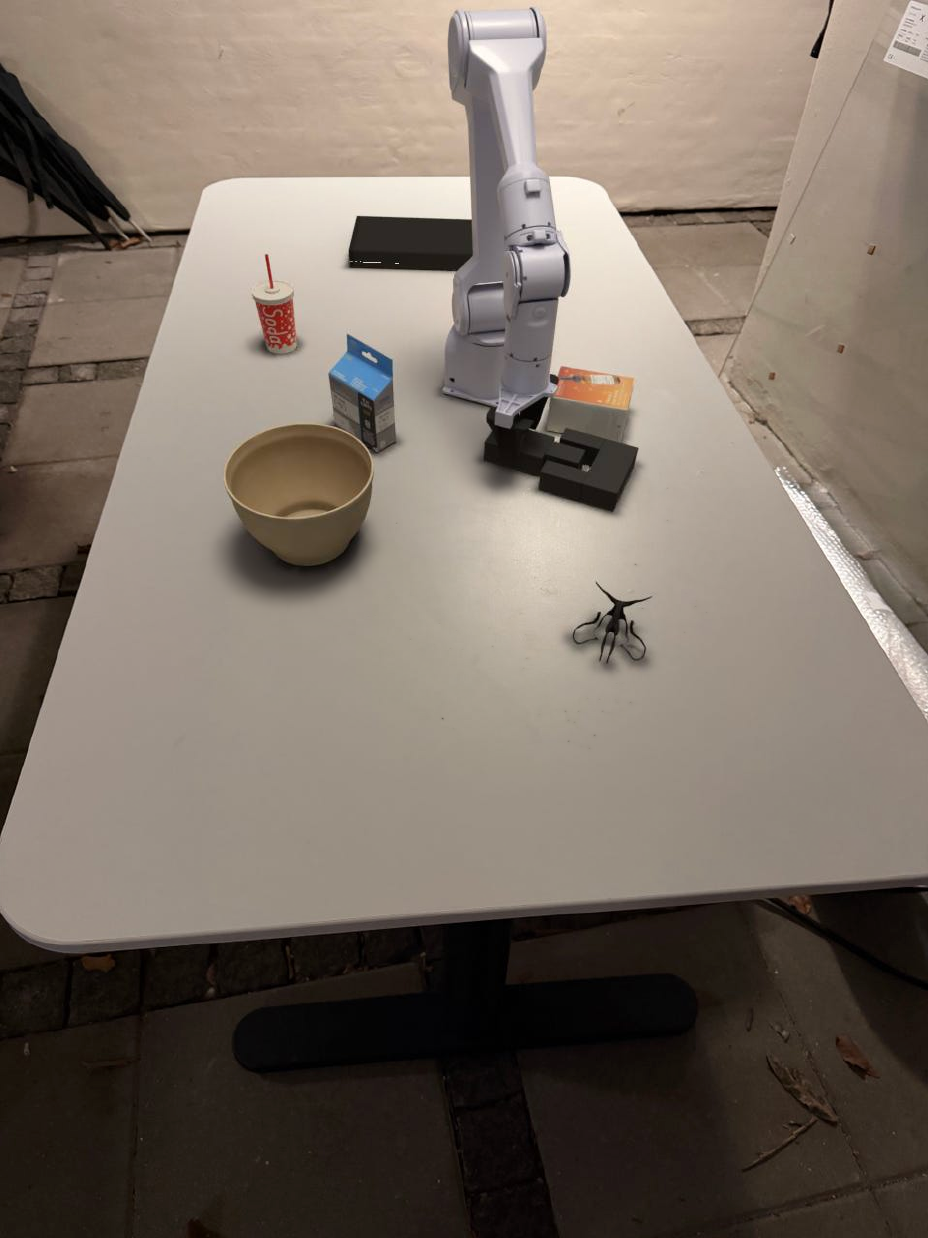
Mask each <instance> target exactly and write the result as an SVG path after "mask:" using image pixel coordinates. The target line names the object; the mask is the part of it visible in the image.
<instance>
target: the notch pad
mask: <svg viewBox="0 0 928 1238" xmlns="http://www.w3.org/2000/svg"><path fill="white" fill-rule="evenodd" d="M558 443H561V444H565V445H569V446H572V447H576V448H579V449H583V450H585V455H584V461H583V465H587V466H590V468H589V470H588V471H587V470H583V469H581V470H580V469H576V468H573V467H569V466H566V465H562V464H559V463H555V462H552V461H548V460H547V461H546V463H545V465H544V466H543V468H542V470H541V472H540V476H539V481H538V490H539V491H541V492H542V491H543V492H544V493H545V492H546V493H548V494H553V495H555V496H558V497H563V498H566V499H569V500H572V501H576V502H579V503H583V504H586V505H589V506H593V507H596V508H599V509H603V510H606V511H610V512H614V511H615V509H616V507H617V505H618V503H619V500H620V499H621V496H622V494H623V491H624V489H625V487H626V485H627V483H628V482H629V481H628V480H629V478H630V476H631V474H632V472H633V471H634V470H633V469H634V468H635V465H636V461H637V456H638V452H639V447H637V446H634V445H630V444H628V443H627V444H626V443H623V442H621V443H620V442H616V441H613V440H609V439H605V438H602V437H598V436H594V435H591V434H587V433H583V432H580V431H576V430H572V429H569V428H565V430H564V432H563V433H561V435H560V437H559V441H558Z"/></svg>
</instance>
